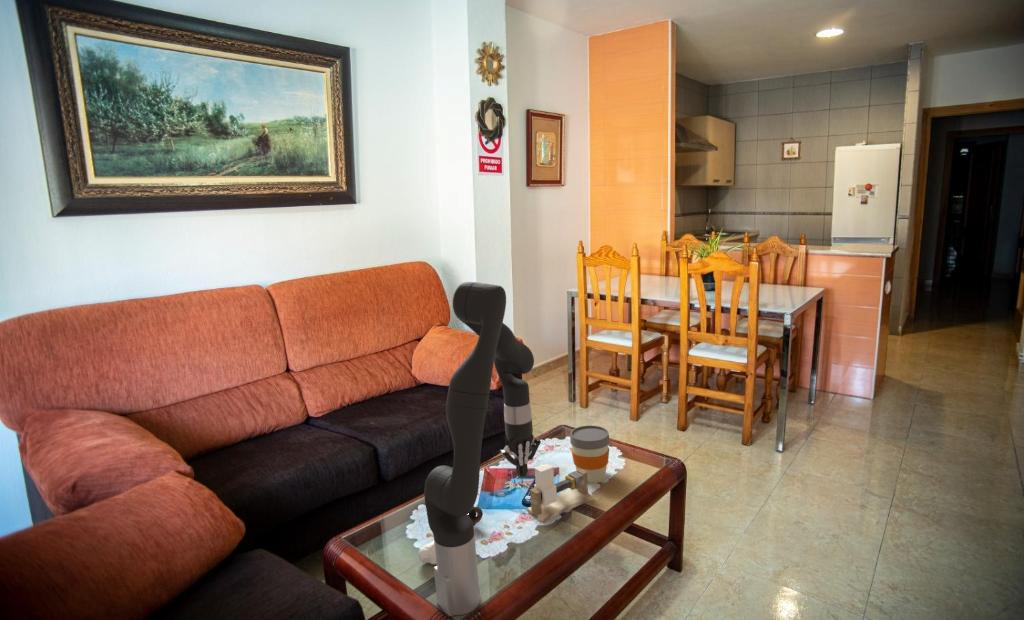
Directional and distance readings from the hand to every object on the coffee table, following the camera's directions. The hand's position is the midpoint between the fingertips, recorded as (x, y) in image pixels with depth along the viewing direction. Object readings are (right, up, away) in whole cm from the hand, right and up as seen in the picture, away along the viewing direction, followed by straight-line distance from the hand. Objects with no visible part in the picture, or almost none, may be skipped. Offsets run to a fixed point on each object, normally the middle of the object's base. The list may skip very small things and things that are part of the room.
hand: (522, 475), depth 169 cm
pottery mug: (-16, -15, +4) cm, 23 cm away
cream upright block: (+7, -9, +6) cm, 13 cm away
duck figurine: (-21, -19, -12) cm, 31 cm away
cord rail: (+11, -12, +10) cm, 19 cm away
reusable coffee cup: (+23, -8, +26) cm, 35 cm away
